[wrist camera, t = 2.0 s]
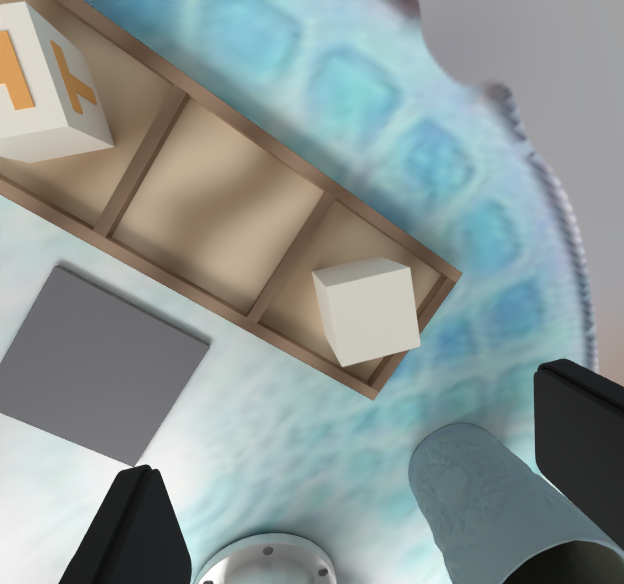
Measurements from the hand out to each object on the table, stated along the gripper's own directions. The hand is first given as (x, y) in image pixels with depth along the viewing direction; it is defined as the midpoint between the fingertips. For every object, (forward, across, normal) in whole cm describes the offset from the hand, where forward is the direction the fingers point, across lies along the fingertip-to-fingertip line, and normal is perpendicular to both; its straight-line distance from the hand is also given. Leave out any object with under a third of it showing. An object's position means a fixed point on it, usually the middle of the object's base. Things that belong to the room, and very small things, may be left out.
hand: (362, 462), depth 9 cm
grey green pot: (+18, -11, +18) cm, 28 cm away
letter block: (+18, +11, -14) cm, 25 cm away
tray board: (+18, +4, -6) cm, 19 cm away
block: (+17, -4, +1) cm, 18 cm away
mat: (+18, +14, +3) cm, 23 cm away
